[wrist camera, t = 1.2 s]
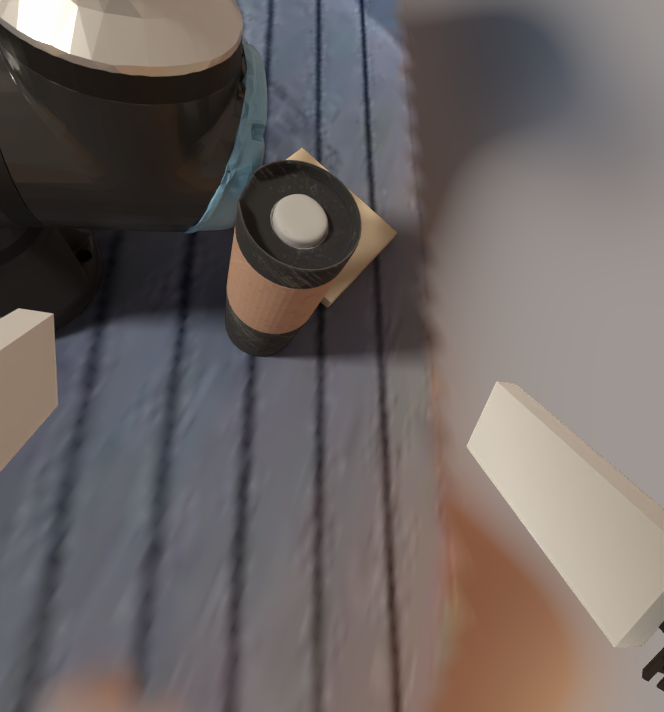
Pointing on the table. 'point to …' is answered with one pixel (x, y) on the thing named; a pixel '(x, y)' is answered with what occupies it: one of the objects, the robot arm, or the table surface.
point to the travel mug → (286, 252)
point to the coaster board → (369, 246)
